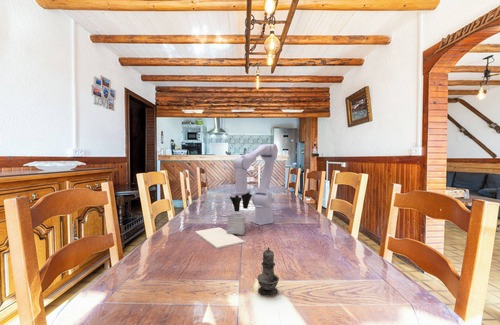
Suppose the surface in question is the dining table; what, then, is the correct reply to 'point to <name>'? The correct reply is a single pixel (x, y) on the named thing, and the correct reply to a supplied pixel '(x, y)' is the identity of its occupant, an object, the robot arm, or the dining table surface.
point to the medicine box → (236, 224)
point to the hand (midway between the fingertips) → (241, 209)
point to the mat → (219, 237)
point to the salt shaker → (268, 275)
